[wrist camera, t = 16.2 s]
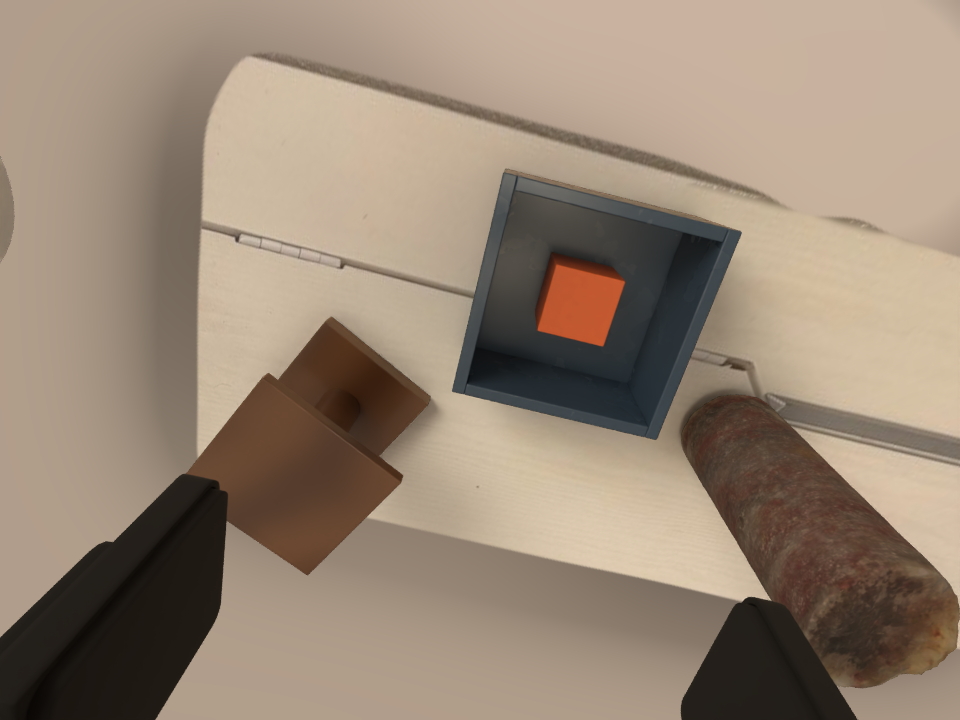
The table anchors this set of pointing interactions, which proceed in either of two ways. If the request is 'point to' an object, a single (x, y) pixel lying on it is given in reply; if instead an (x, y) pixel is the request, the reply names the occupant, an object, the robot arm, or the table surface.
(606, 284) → the orange block
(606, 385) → the blue open crate
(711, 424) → the brown textured cylinder
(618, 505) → the table surface
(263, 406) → the serving stand
